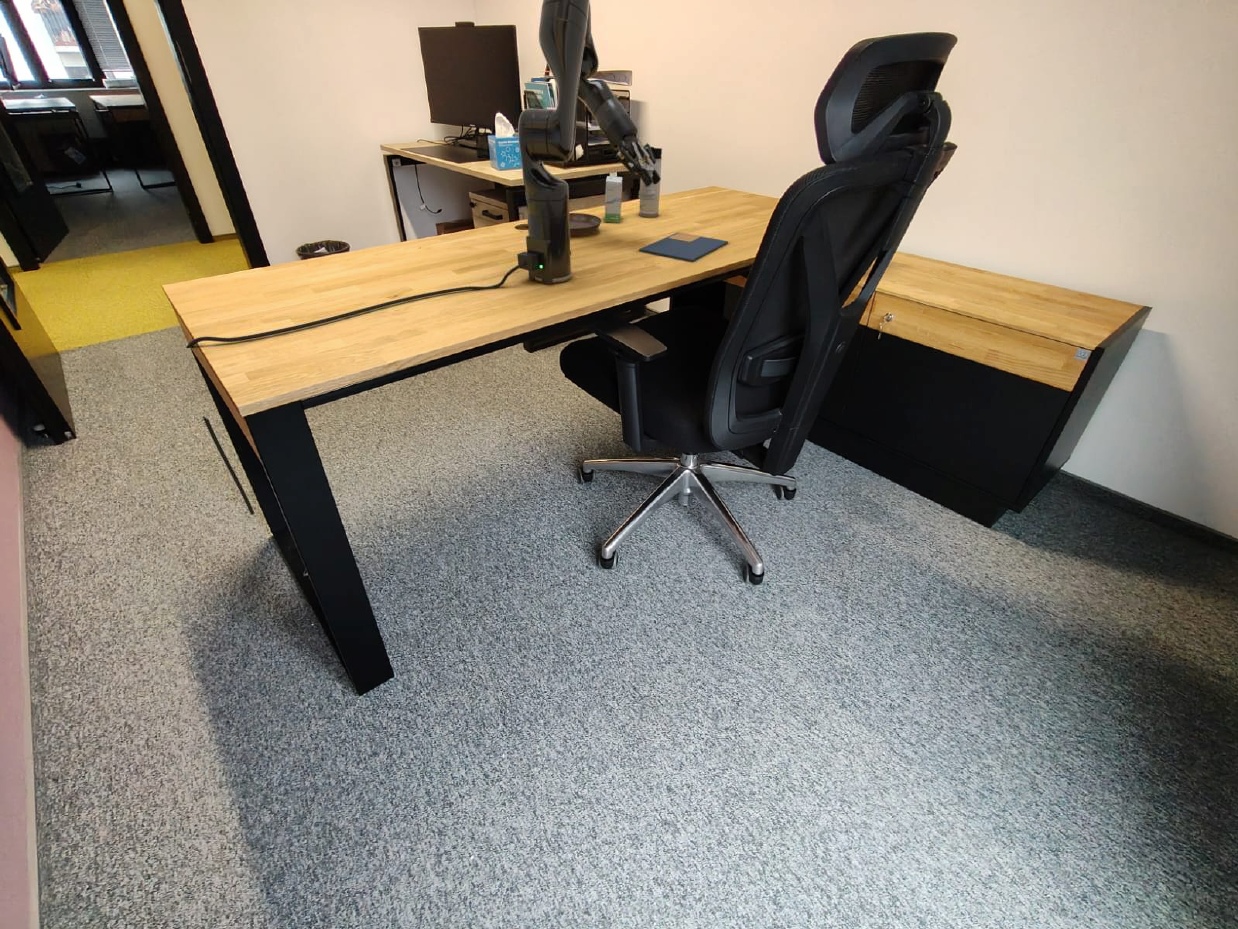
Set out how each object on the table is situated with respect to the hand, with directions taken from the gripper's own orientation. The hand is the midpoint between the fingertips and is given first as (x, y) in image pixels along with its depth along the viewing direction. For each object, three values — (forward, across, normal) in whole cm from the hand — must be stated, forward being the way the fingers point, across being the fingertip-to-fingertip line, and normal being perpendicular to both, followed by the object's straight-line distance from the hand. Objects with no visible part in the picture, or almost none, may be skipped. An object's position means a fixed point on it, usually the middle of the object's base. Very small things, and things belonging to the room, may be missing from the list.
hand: (654, 182), depth 143 cm
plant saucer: (-8, +1, +31) cm, 32 cm away
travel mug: (-2, +32, +25) cm, 41 cm away
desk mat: (+17, +6, +6) cm, 19 cm away
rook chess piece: (+2, 0, +4) cm, 5 cm away
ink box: (-6, +20, +29) cm, 36 cm away
